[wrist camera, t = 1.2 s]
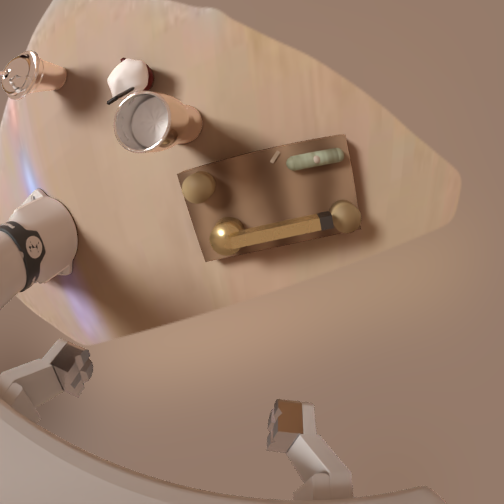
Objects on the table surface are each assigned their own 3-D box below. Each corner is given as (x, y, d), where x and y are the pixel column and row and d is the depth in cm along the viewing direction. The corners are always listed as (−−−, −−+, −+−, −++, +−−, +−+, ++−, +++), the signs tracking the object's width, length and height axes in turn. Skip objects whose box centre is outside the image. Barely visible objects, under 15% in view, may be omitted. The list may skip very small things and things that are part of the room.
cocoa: (125, 64, 34) (81, 47, 23) (159, 55, 34) (122, 31, 23) (124, 117, 38) (78, 113, 27) (159, 110, 37) (118, 101, 26)
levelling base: (209, 254, 46) (201, 270, 41) (183, 171, 41) (170, 177, 35) (355, 222, 43) (366, 236, 37) (340, 134, 37) (351, 134, 32)
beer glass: (209, 142, 39) (178, 147, 25) (165, 150, 40) (117, 161, 26) (202, 97, 36) (168, 80, 23) (158, 108, 37) (108, 100, 23)
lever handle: (219, 248, 42) (212, 263, 37) (210, 220, 40) (202, 233, 36) (327, 225, 40) (335, 238, 35) (322, 195, 38) (330, 204, 33)
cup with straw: (52, 109, 37) (-30, 115, 18) (37, 80, 34) (-40, 79, 15) (81, 75, 34) (-3, 65, 16) (64, 47, 32) (-13, 32, 13)
